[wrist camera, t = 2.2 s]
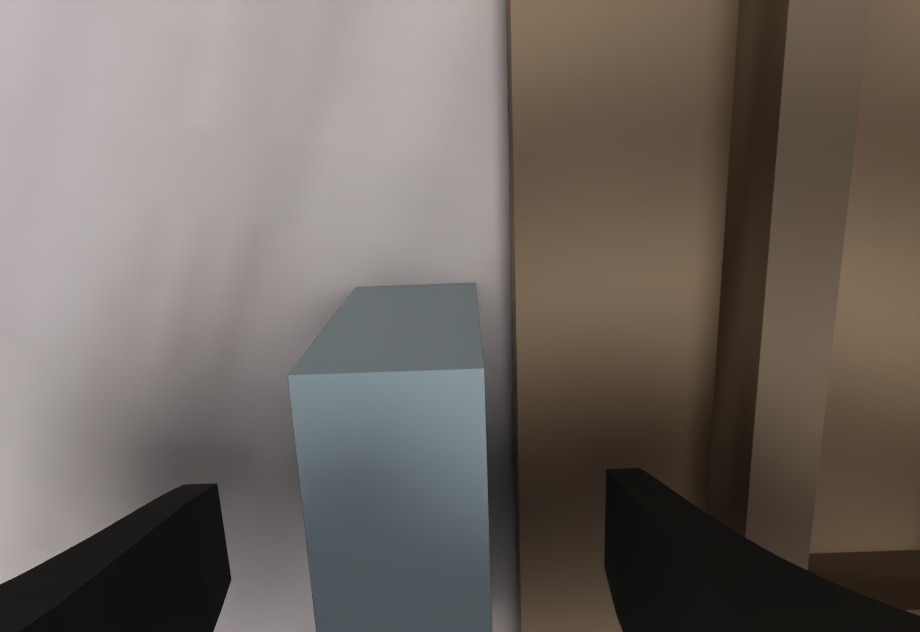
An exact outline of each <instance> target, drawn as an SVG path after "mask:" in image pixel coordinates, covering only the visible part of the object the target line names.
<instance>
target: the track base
mask: <svg viewBox="0 0 920 632" xmlns="http://www.w3.org/2000/svg"><path fill="white" fill-rule="evenodd" d="M506 7H507V61H508V115H509V169H510V223H511V277H512V331H513V385H514V439H515V493H516V547H517V601H518V632H623V631H622V629H621V626H620V623H619V621H618V618H617V615H616V611H615V608H614V604H613V600H612V596H611V592H610V588H609V584H608V580H607V576H606V572H605V568H604V548H605V501H606V469H622V468H640V469H642V470H644V471H646V472H647V473H649V474H650V475H652V476H653V477H655V478H656V479H658V480H659V481H660V482H662V483H663V484H665V485H666V486H668V487H669V488H671V489H672V490H673V491H675V492H676V493H678V494H679V495H680V496H682V497H683V498H685V499H686V500H688V501H689V502H691V503H692V504H694V505H695V506H696V507H698V508H699V509H701V510H702V511H704V512H705V513H707V514H708V515H710V516H711V517H713V518H715V519H716V520H718V521H719V522H721V523H722V524H724V525H726V526H727V527H729V528H730V529H732V530H733V531H735V532H737V533H739V534H740V535H742V536H744V537H745V538H747V539H749V540H751V541H752V542H754V543H756V544H757V545H759V546H761V547H762V548H764V549H766V550H768V551H770V552H772V553H774V554H775V555H777V556H779V557H781V558H783V559H785V560H787V561H789V562H791V563H793V564H795V565H797V566H799V567H801V568H803V569H805V570H807V571H810V572H812V573H814V574H816V575H818V576H820V577H822V578H824V579H827V580H829V581H831V582H833V583H836V584H838V585H840V586H843V587H845V588H848V589H850V590H853V591H855V592H858V593H860V594H863V595H865V596H868V597H870V598H873V599H875V600H878V601H880V602H883V603H885V604H888V605H890V606H893V607H896V608H899V609H902V610H905V611H907V612H910V613H913V614H916V615H919V616H920V0H506Z"/></svg>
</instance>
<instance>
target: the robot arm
mask: <svg viewBox="0 0 920 632" xmlns="http://www.w3.org/2000/svg"><path fill="white" fill-rule="evenodd" d="M604 568H605V572H606V576H607V580H608V584H609V588H610V592H611V596H612V600H613V604H614V608H615V611H616V615H617V618H618V621H619V623H620V626H621V629H622V631H623V632H920V616H919V615H916V614H913V613H910V612H907V611H905V610H902V609H899V608H896V607H893V606H890V605H888V604H885V603H883V602H880V601H878V600H875V599H873V598H870V597H868V596H865V595H863V594H860V593H858V592H855V591H853V590H850V589H848V588H845V587H843V586H840V585H838V584H836V583H833V582H831V581H829V580H827V579H824V578H822V577H820V576H818V575H816V574H814V573H812V572H810V571H807V570H805V569H803V568H801V567H799V566H797V565H795V564H793V563H791V562H789V561H787V560H785V559H783V558H781V557H779V556H777V555H775V554H774V553H772V552H770V551H768V550H766V549H764V548H762V547H761V546H759V545H757V544H756V543H754V542H752V541H751V540H749V539H747V538H745V537H744V536H742V535H740V534H739V533H737V532H735V531H733V530H732V529H730V528H729V527H727V526H726V525H724V524H722V523H721V522H719V521H718V520H716V519H715V518H713V517H711V516H710V515H708V514H707V513H705V512H704V511H702V510H701V509H699V508H698V507H696V506H695V505H694V504H692V503H691V502H689V501H688V500H686V499H685V498H683V497H682V496H680V495H679V494H678V493H676V492H675V491H673V490H672V489H671V488H669V487H668V486H666V485H665V484H663V483H662V482H660V481H659V480H658V479H656V478H655V477H653V476H652V475H650V474H649V473H647V472H646V471H644V470H642V469H640V468H622V469H606V501H605V548H604ZM230 582H231V574H230V567H229V560H228V554H227V547H226V540H225V533H224V526H223V520H222V513H221V506H220V499H219V493H218V486H217V484H190V485H183V486H180V487H178V488H176V489H174V490H172V491H170V492H168V493H166V494H164V495H162V496H160V497H158V498H157V499H155V500H153V501H151V502H150V503H148V504H146V505H144V506H143V507H141V508H139V509H137V510H136V511H134V512H132V513H131V514H129V515H127V516H125V517H124V518H122V519H120V520H119V521H117V522H115V523H113V524H112V525H110V526H108V527H107V528H105V529H103V530H101V531H100V532H98V533H96V534H95V535H93V536H91V537H89V538H88V539H86V540H84V541H82V542H80V543H79V544H77V545H75V546H73V547H71V548H69V549H68V550H66V551H64V552H62V553H60V554H58V555H57V556H55V557H53V558H51V559H49V560H47V561H45V562H44V563H42V564H40V565H38V566H36V567H34V568H33V569H31V570H29V571H27V572H25V573H23V574H21V575H19V576H17V577H15V578H13V579H11V580H9V581H7V582H5V583H2V584H0V632H213V631H214V628H215V625H216V623H217V620H218V617H219V615H220V612H221V609H222V606H223V603H224V600H225V597H226V594H227V591H228V588H229V585H230Z"/></svg>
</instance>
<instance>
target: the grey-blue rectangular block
mask: <svg viewBox="0 0 920 632" xmlns="http://www.w3.org/2000/svg"><path fill="white" fill-rule="evenodd" d="M288 383H289V392H290V400H291V409H292V418H293V430H294V436H295V445H296V454H297V463H298V472H299V481H300V490H301V499H302V508H303V517H304V526H305V535H306V544H307V552H308V561H309V570H310V579H311V588H312V597H313V606H314V615H315V624H316V632H492V612H491V579H490V546H489V513H488V480H487V448H486V415H485V382H484V363H483V353H482V343H481V333H480V323H479V313H478V303H477V293H476V283H455V284H429V285H402V286H376V287H356V288H355V289H354V291H353V292H352V293H351V294H350V296H349V297H348V298H347V300H346V301H345V302H344V304H343V305H342V306H341V307H340V309H339V310H338V311H337V313H336V314H335V315H334V316H333V318H332V319H331V320H330V322H329V323H328V324H327V325H326V327H325V328H324V329H323V331H322V332H321V333H320V334H319V336H318V337H317V338H316V340H315V341H314V342H313V343H312V345H311V346H310V347H309V349H308V350H307V351H306V352H305V354H304V355H303V356H302V358H301V359H300V360H299V361H298V363H297V364H296V365H295V367H294V368H293V369H292V371H291V372H290V373H289V374H288Z"/></svg>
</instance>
